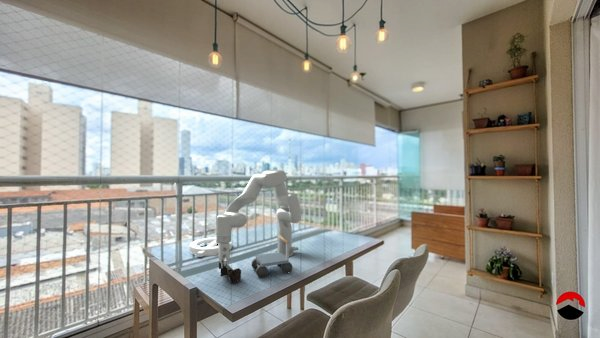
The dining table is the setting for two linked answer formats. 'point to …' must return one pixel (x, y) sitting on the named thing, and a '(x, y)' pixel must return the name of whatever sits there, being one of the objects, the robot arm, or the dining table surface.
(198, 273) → the dining table surface
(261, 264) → the trolley
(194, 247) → the ring with crossbar
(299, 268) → the dining table surface
